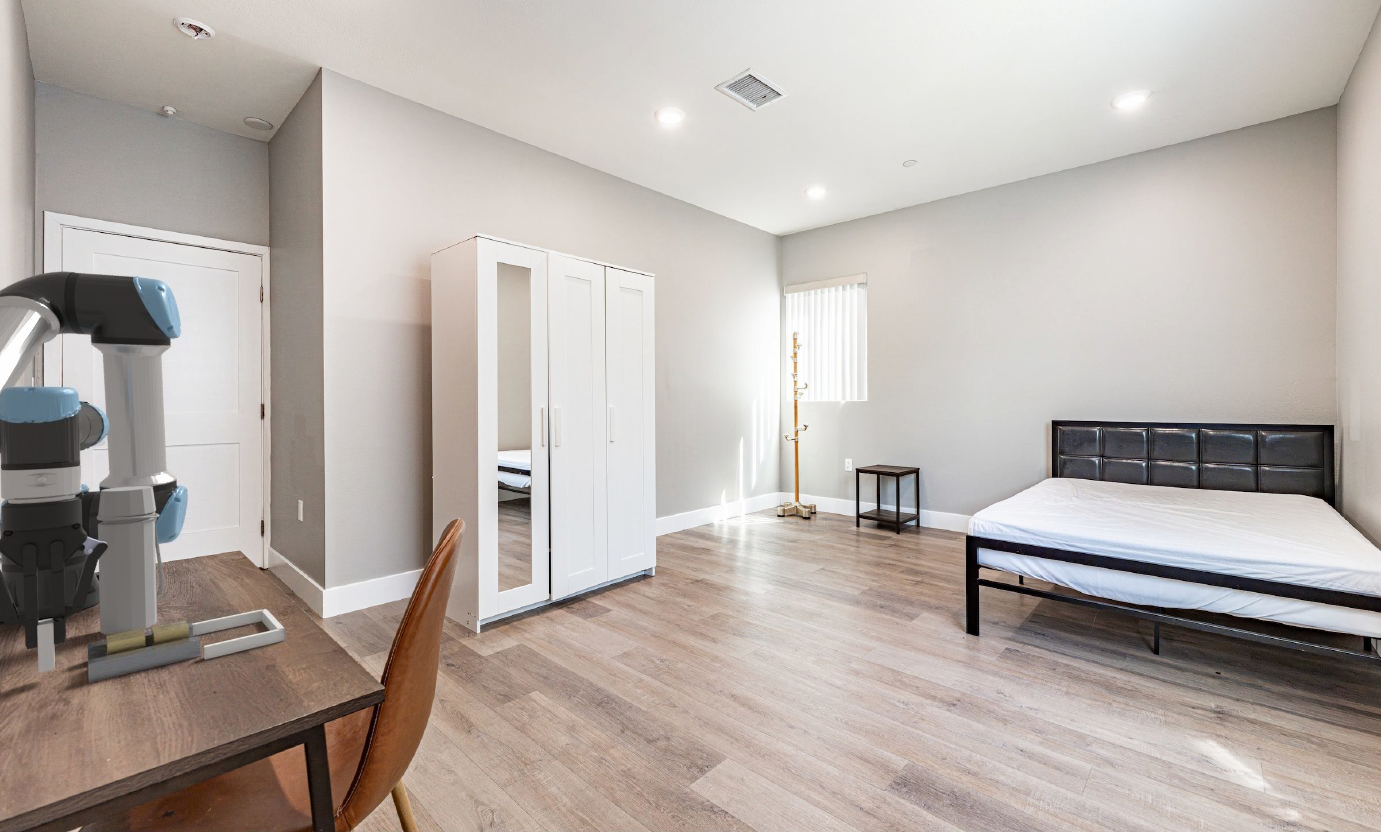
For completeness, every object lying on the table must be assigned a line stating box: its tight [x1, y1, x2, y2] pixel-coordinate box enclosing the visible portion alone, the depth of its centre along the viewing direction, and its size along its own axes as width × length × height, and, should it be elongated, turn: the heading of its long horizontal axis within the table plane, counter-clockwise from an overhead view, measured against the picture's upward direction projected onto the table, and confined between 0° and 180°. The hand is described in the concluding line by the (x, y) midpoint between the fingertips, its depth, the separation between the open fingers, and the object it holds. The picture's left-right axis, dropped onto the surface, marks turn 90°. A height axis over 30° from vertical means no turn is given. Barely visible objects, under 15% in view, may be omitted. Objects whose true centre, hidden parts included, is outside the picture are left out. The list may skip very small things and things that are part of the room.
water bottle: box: [97, 486, 165, 636], centre depth 104 cm, size 9×8×25 cm
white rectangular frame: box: [192, 608, 286, 660], centre depth 99 cm, size 14×10×3 cm
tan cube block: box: [106, 629, 145, 656], centre depth 89 cm, size 4×4×4 cm
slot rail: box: [86, 622, 201, 683], centre depth 91 cm, size 10×12×4 cm
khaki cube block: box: [151, 619, 189, 646], centre depth 93 cm, size 4×4×4 cm
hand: (46, 668), depth 83 cm, fingers closed
